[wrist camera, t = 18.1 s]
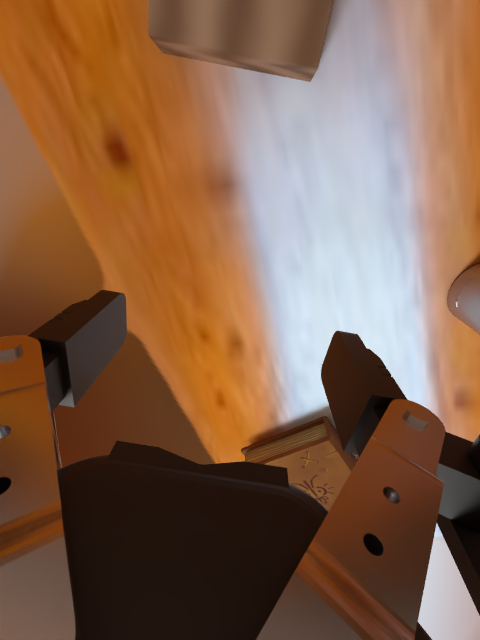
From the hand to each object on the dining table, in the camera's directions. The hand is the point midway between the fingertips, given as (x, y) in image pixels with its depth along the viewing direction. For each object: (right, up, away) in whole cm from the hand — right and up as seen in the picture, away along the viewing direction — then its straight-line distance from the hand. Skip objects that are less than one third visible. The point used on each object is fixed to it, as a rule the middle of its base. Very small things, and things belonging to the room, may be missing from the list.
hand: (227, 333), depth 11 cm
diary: (+15, -30, +49) cm, 59 cm away
